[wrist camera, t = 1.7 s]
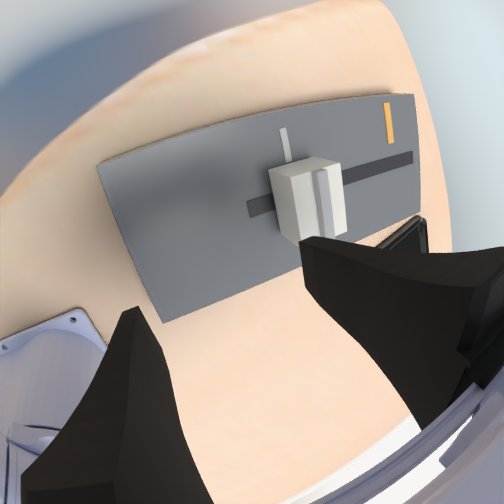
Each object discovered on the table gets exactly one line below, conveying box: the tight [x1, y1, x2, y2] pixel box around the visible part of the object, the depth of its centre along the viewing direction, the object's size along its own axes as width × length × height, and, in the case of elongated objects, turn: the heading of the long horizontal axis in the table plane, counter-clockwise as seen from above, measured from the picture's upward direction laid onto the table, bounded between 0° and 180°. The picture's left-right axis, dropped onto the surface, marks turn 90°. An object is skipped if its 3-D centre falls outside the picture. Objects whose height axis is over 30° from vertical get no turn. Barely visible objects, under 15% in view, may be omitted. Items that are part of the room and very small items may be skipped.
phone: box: [376, 216, 429, 253], centre depth 30 cm, size 8×1×15 cm
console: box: [96, 93, 420, 323], centre depth 19 cm, size 22×10×3 cm, turn 102°
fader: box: [268, 157, 347, 247], centre depth 16 cm, size 3×4×3 cm
